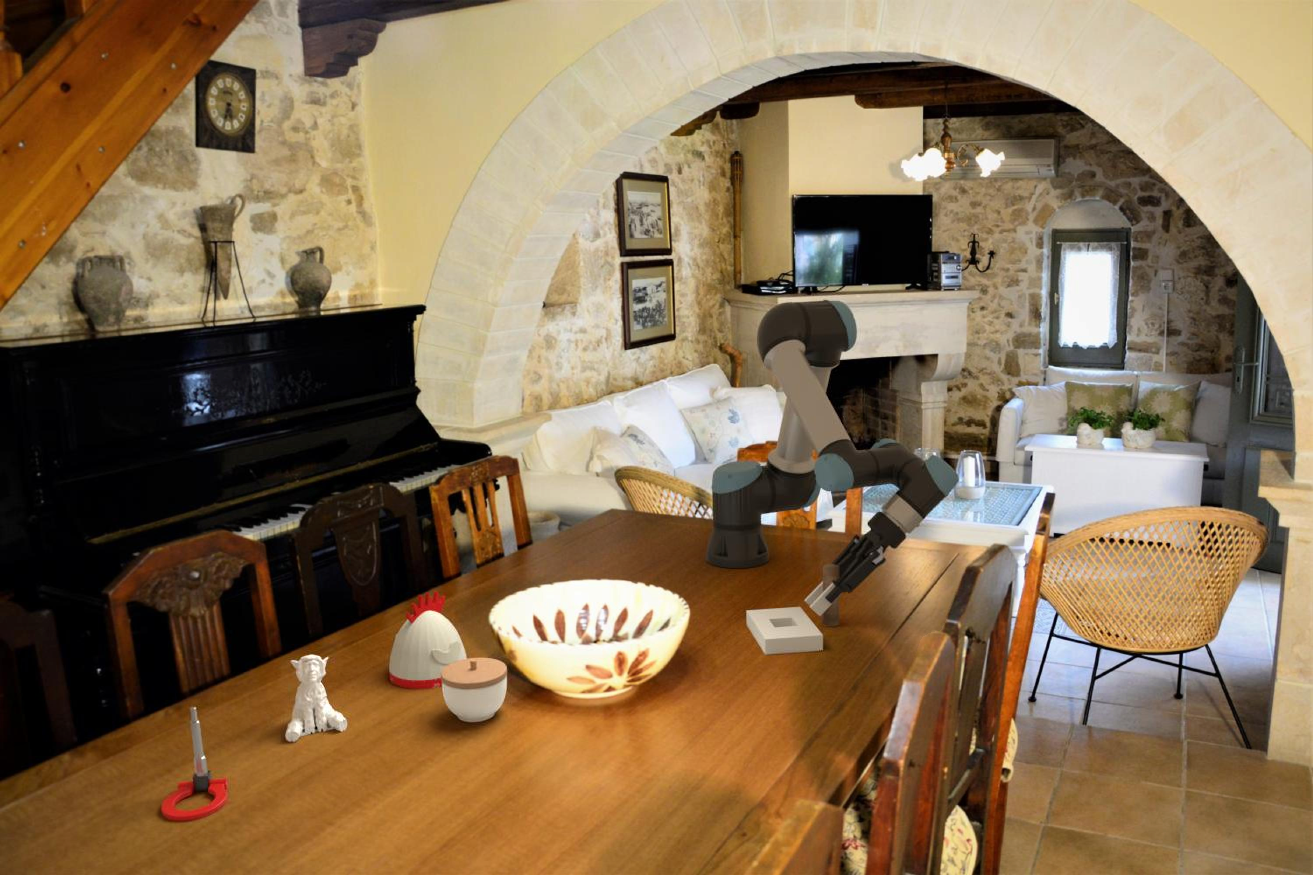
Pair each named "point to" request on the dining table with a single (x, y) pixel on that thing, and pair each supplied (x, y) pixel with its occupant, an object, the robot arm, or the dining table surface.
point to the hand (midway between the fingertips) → (812, 608)
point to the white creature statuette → (312, 701)
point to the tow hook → (196, 783)
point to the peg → (833, 610)
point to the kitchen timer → (424, 646)
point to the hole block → (784, 630)
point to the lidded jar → (474, 687)
